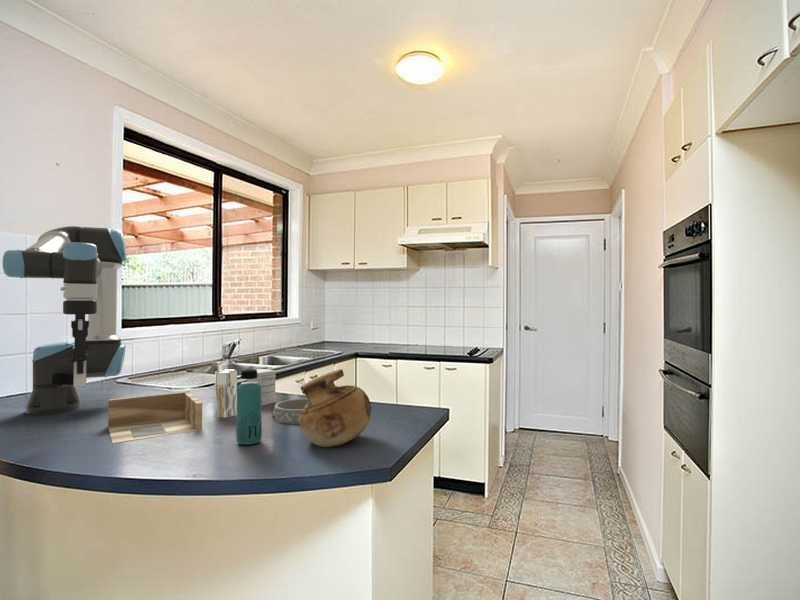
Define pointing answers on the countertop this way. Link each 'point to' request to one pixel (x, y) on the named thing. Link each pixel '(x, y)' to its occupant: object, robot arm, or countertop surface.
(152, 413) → the corner tray
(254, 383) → the beverage bottle
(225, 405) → the white piece
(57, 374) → the tape measure
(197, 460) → the countertop surface
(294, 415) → the dog bowl
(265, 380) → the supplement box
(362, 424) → the clay pot
